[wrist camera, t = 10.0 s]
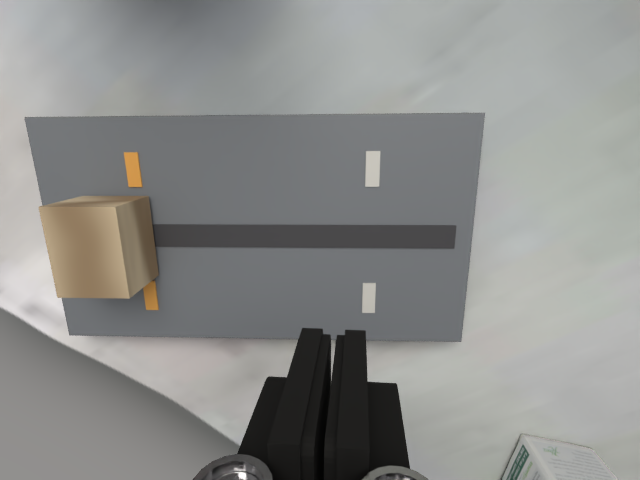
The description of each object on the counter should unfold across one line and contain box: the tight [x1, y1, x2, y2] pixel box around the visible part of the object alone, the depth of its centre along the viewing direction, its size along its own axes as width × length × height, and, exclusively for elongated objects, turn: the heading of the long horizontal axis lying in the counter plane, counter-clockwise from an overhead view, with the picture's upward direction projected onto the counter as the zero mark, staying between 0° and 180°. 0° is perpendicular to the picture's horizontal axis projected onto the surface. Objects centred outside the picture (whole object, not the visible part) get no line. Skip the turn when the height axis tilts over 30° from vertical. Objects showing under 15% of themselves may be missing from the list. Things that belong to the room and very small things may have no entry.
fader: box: [39, 196, 159, 299], centre depth 22 cm, size 4×5×4 cm
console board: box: [25, 113, 485, 342], centre depth 24 cm, size 26×14×2 cm, turn 90°
